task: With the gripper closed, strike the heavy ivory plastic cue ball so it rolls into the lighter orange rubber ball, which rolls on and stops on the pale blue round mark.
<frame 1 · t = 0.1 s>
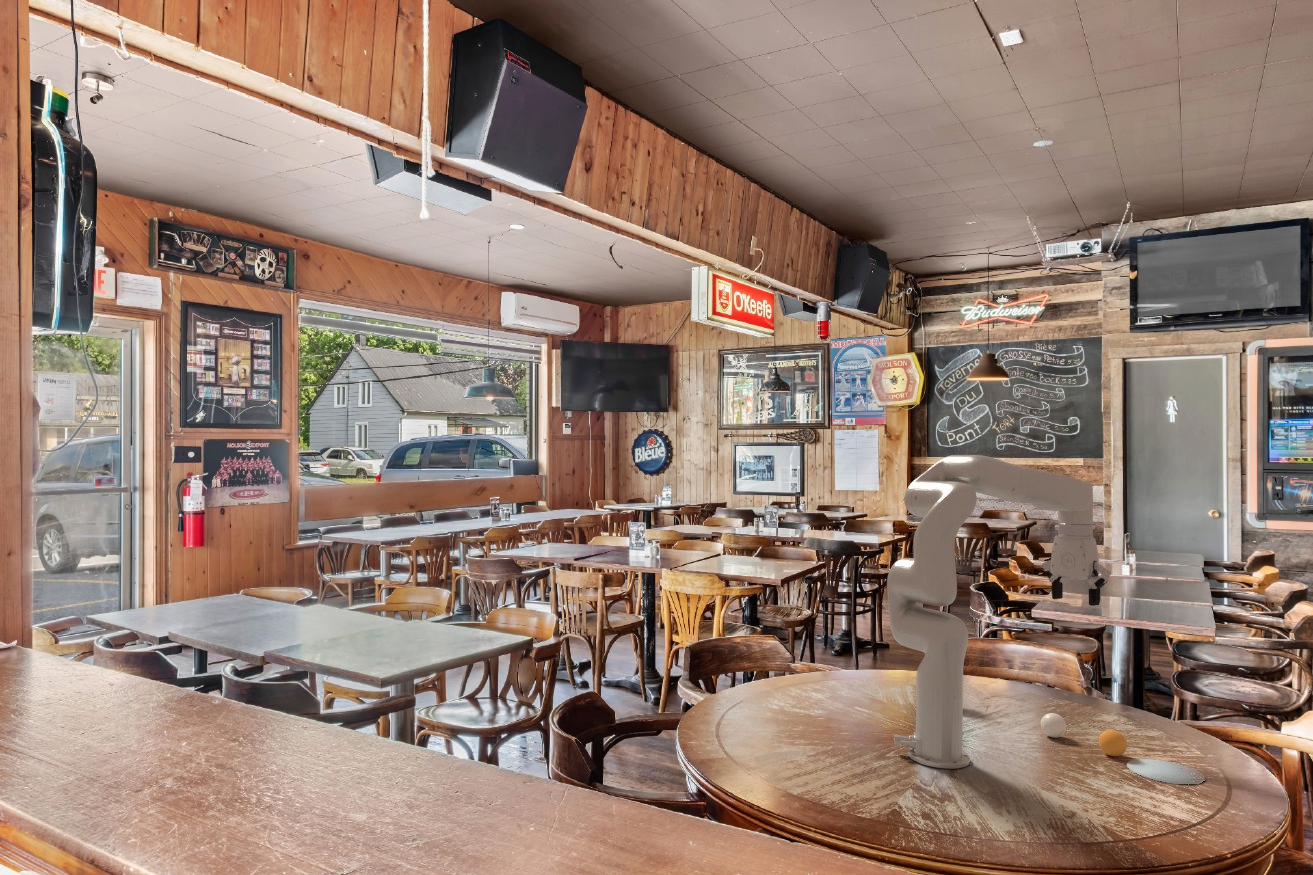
hand: (1075, 601, 199), 31 cm above the table, tool pointing down, fingers open, 9 cm apart
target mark: (1165, 771, 172), on the table
lollipop: (939, 703, 220), on the table
orange ball: (1112, 742, 182), on the table
cue ball: (1053, 725, 194), on the table
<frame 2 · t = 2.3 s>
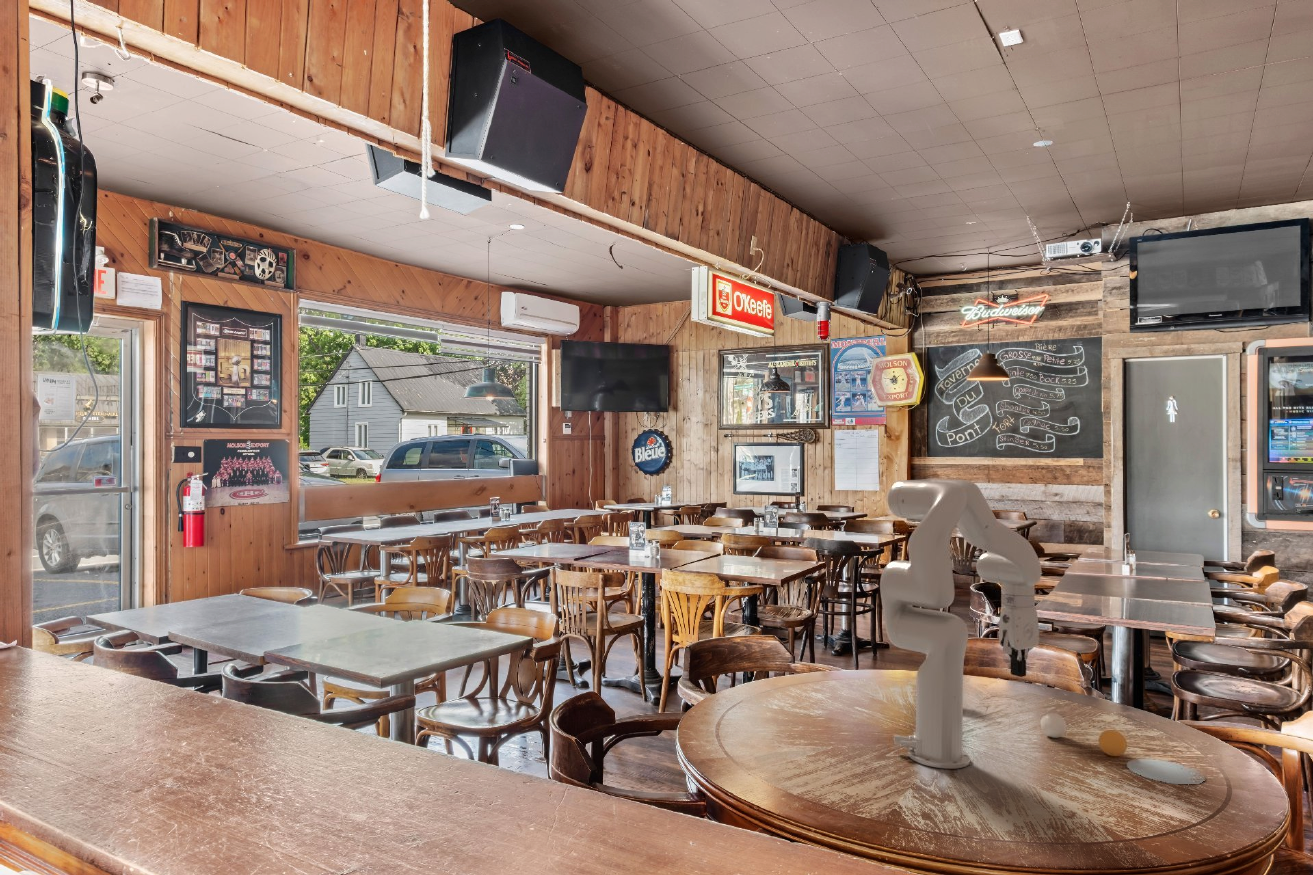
hand: (1018, 675, 202), 12 cm above the table, tool pointing down, fingers closed
nothing on the table moved.
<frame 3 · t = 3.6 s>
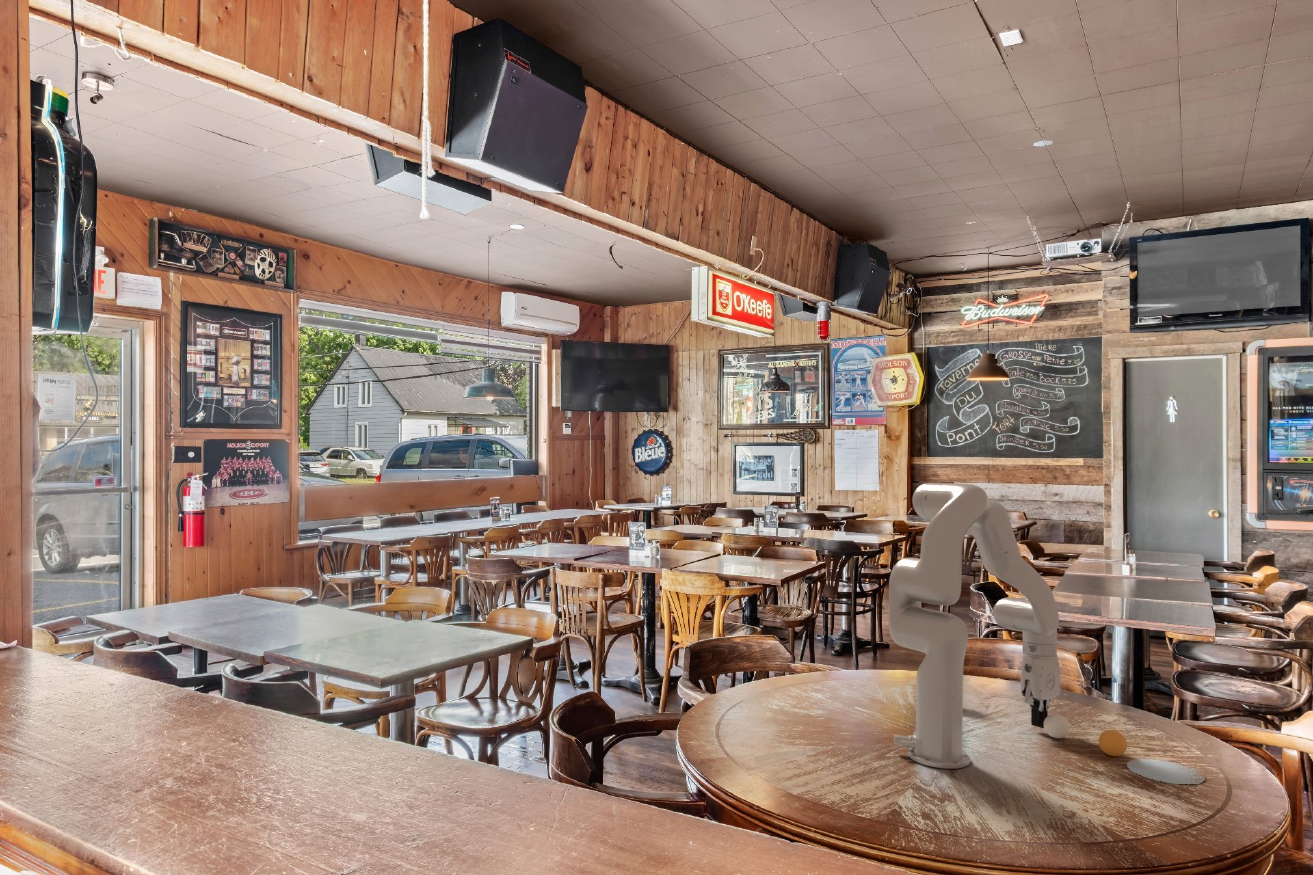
hand: (1039, 725, 197), 2 cm above the table, tool pointing down, fingers closed
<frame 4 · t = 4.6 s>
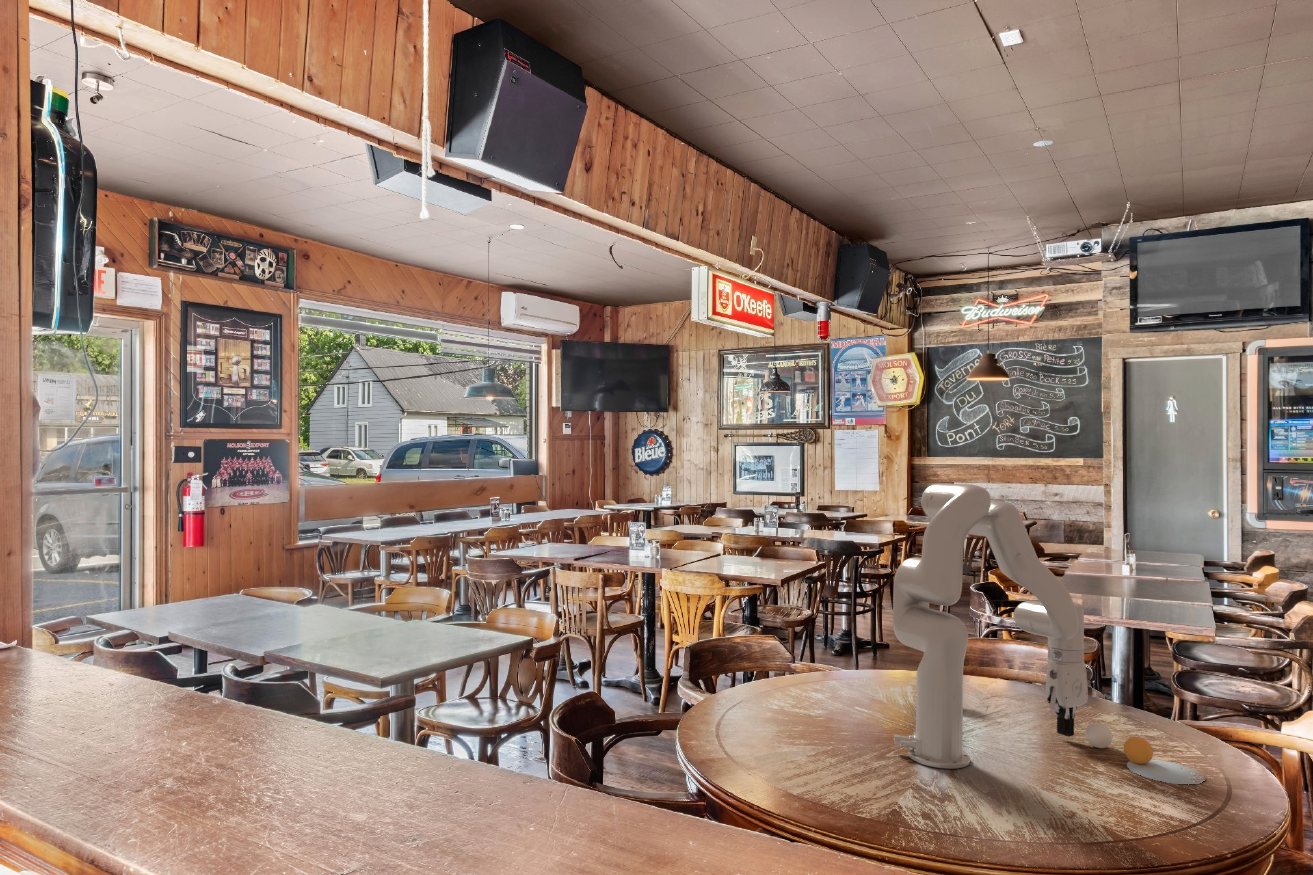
hand: (1065, 734, 191), 2 cm above the table, tool pointing down, fingers closed
orange ball: (1138, 750, 177), on the table
cue ball: (1098, 735, 187), on the table
everything else where it was.
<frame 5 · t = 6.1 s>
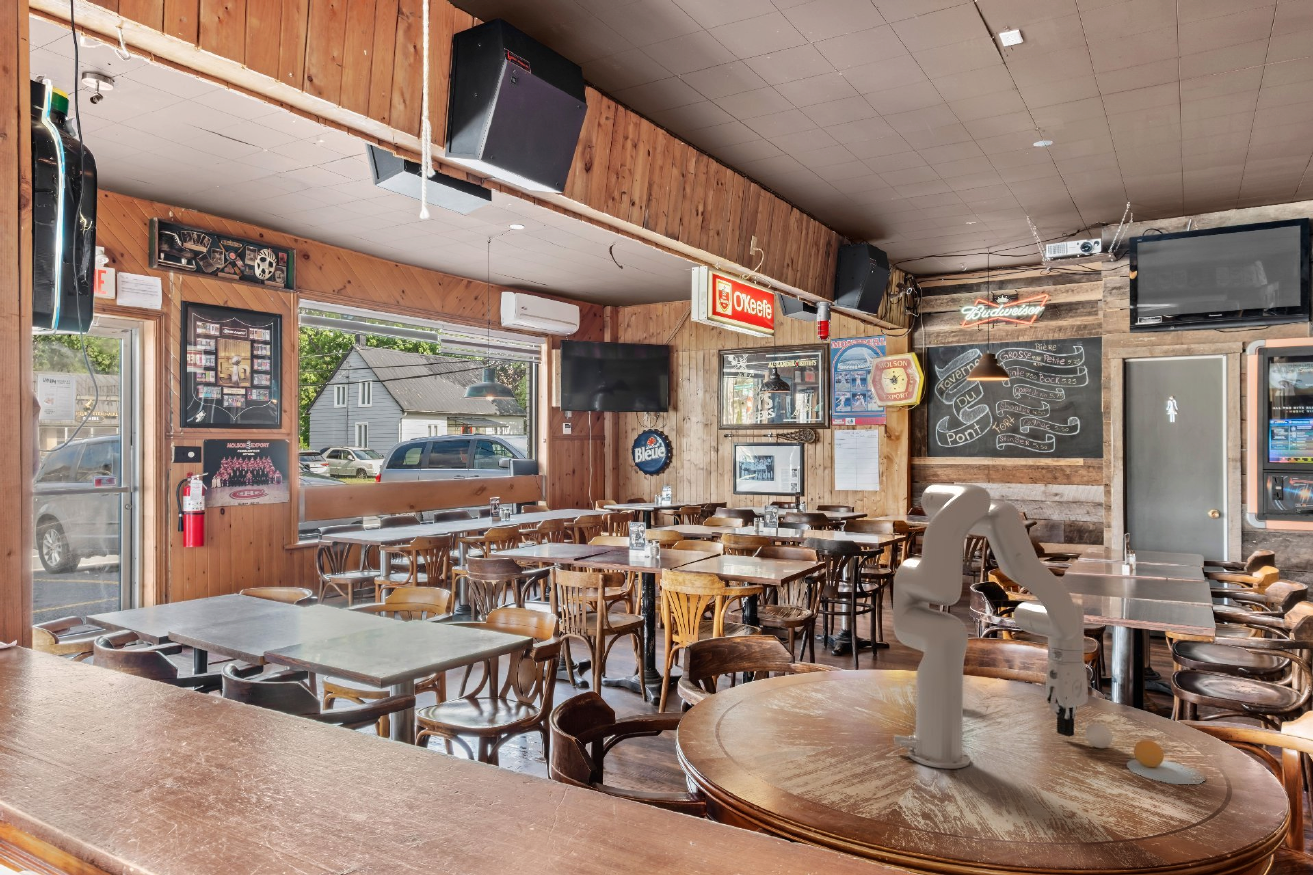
hand: (1065, 734, 191), 2 cm above the table, tool pointing down, fingers closed
orange ball: (1148, 753, 175), on the table
everything else where it was.
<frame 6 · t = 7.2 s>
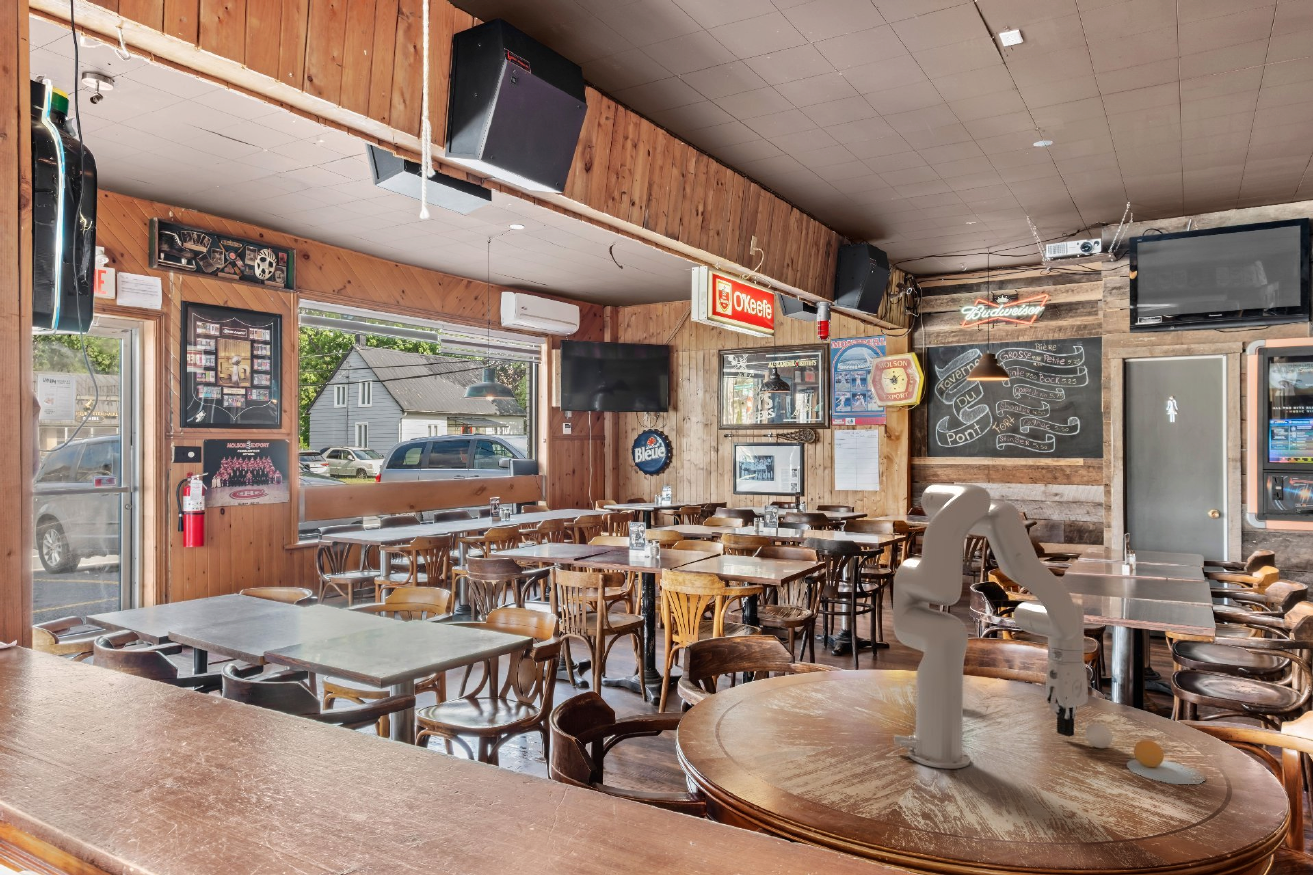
hand: (1065, 734, 191), 2 cm above the table, tool pointing down, fingers closed
nothing on the table moved.
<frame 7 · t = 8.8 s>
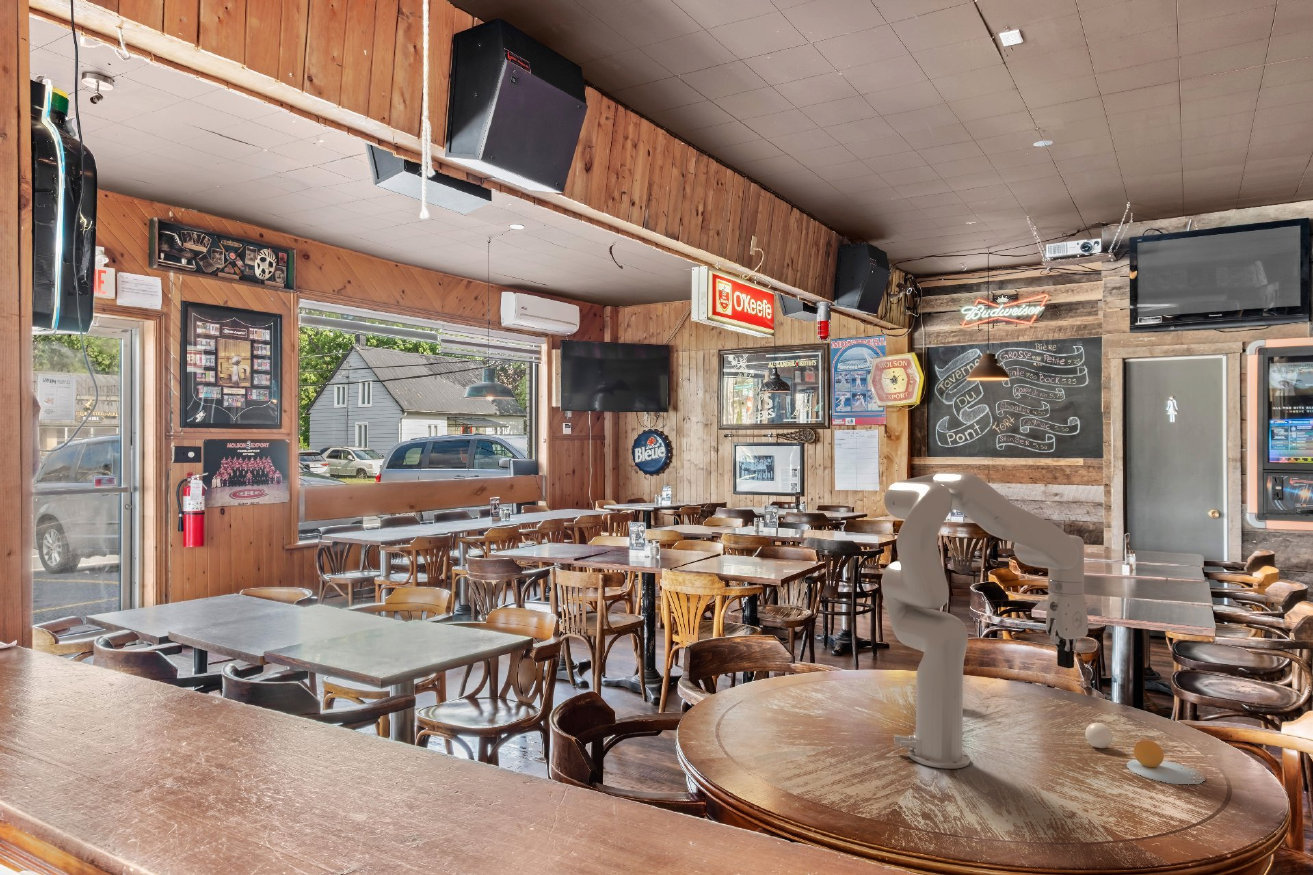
hand: (1065, 666, 191), 17 cm above the table, tool pointing down, fingers closed
nothing on the table moved.
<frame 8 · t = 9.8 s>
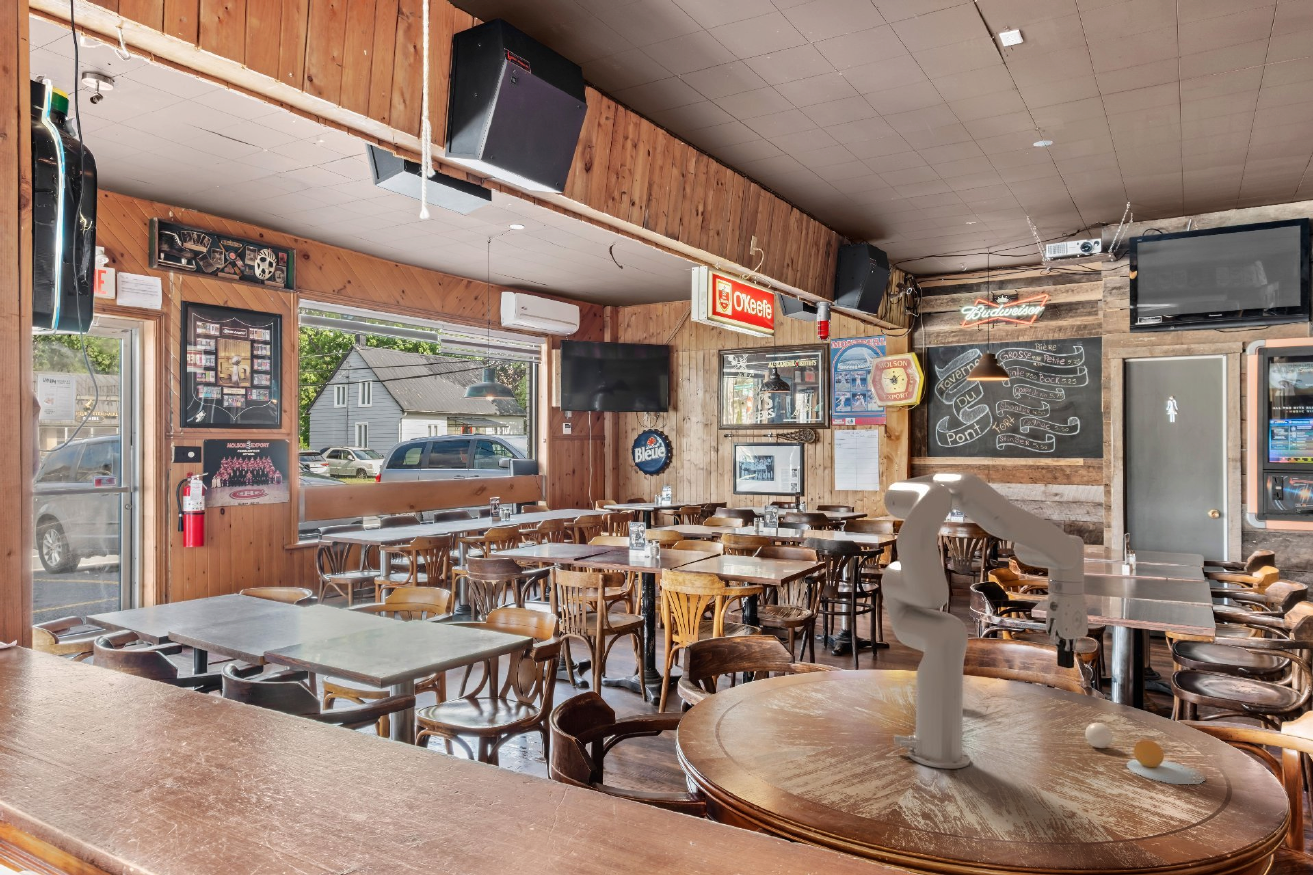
hand: (1065, 666, 191), 17 cm above the table, tool pointing down, fingers closed
nothing on the table moved.
at the end: orange ball 3.4 cm from the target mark (horizontally); orange ball never touched the robot; cue ball first touched orange ball at 3.9 s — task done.
